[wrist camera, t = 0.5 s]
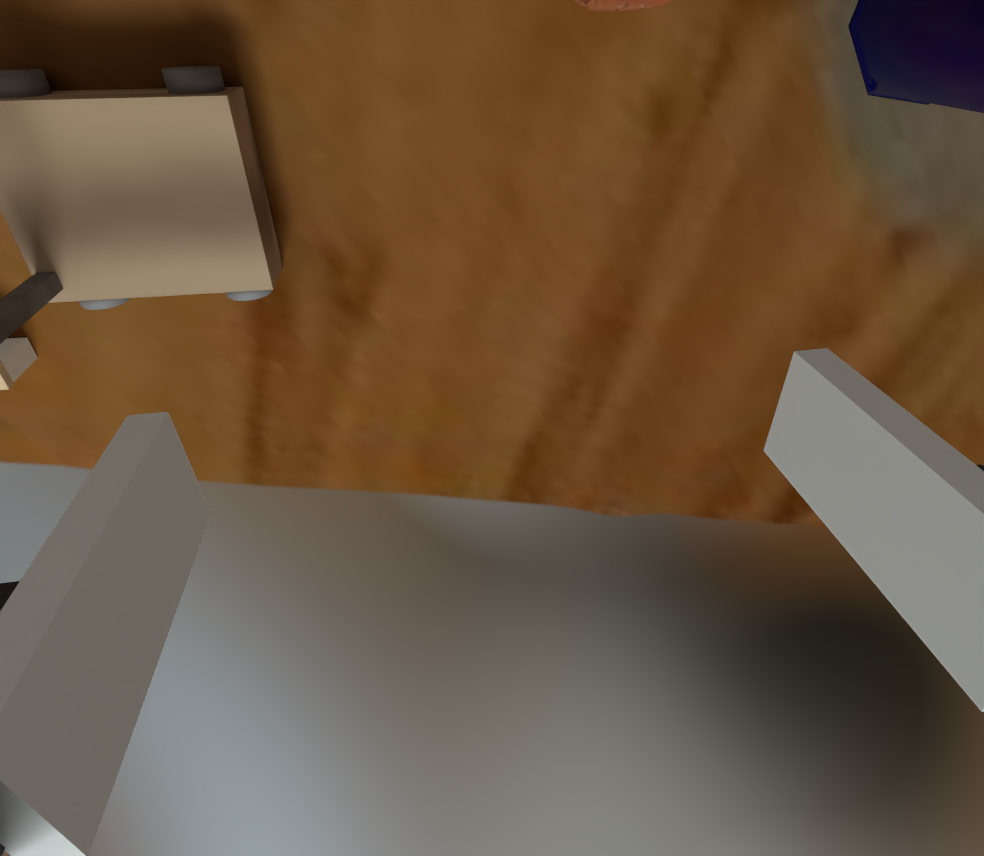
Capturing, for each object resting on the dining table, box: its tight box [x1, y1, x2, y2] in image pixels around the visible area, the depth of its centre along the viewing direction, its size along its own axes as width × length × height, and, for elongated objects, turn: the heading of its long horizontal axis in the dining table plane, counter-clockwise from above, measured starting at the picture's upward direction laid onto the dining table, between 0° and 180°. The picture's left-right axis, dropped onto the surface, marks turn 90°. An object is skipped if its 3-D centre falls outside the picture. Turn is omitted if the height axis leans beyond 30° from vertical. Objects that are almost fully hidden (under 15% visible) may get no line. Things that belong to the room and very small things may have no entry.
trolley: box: [0, 66, 283, 344], centre depth 23 cm, size 10×10×10 cm
